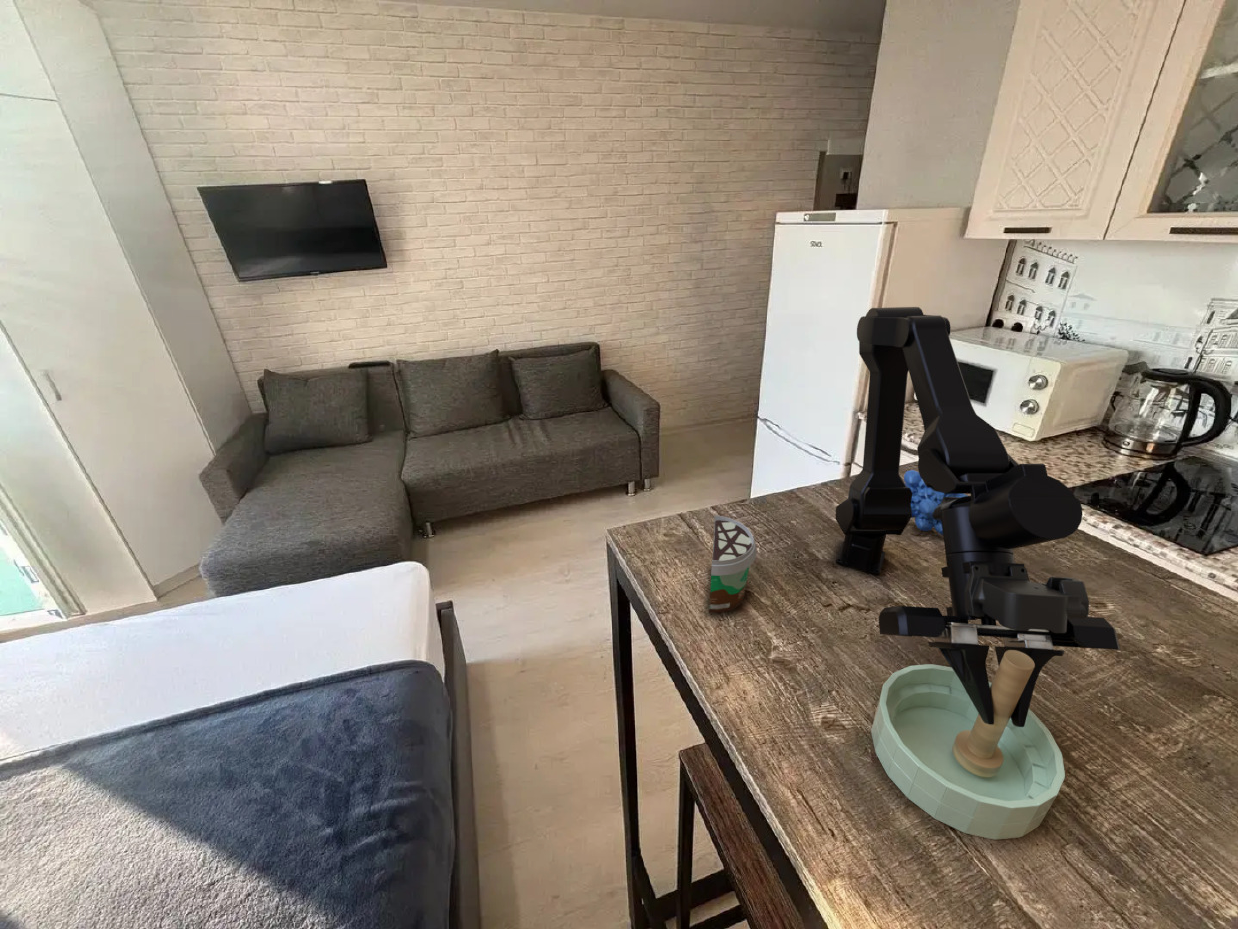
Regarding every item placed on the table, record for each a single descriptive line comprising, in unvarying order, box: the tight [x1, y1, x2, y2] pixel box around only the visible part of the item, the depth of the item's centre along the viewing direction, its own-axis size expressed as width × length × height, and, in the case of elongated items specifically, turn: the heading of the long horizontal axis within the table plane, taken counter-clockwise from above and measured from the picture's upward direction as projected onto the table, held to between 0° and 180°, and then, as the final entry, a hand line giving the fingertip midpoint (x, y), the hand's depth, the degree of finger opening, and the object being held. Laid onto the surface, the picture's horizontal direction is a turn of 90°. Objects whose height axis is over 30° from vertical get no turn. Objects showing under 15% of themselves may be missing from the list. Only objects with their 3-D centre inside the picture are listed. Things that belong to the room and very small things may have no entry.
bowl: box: [870, 663, 1066, 841], centre depth 51 cm, size 15×15×6 cm
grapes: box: [903, 469, 968, 536], centre depth 86 cm, size 12×7×12 cm, turn 51°
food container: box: [708, 514, 758, 614], centre depth 74 cm, size 12×6×10 cm, turn 168°
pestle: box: [952, 650, 1035, 777], centre depth 48 cm, size 4×4×14 cm
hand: (1003, 725), depth 47 cm, fingers closed on pestle, 2 cm apart
